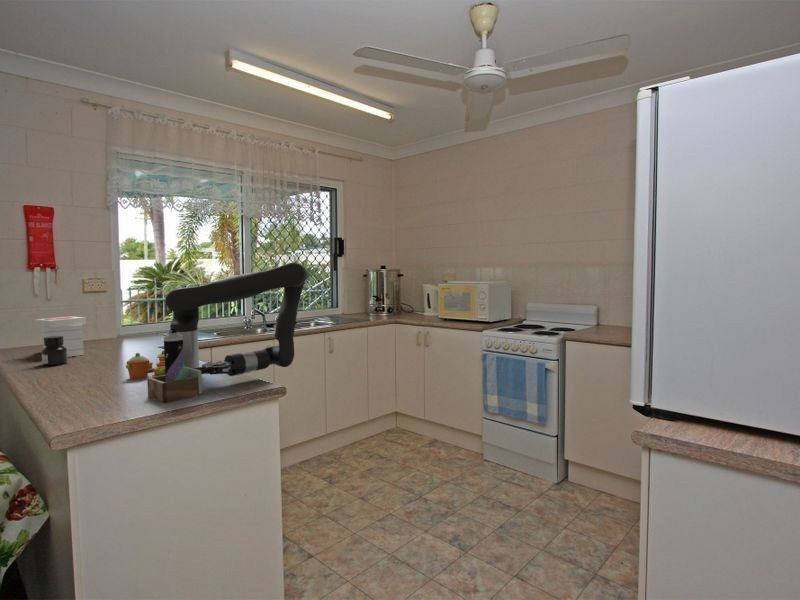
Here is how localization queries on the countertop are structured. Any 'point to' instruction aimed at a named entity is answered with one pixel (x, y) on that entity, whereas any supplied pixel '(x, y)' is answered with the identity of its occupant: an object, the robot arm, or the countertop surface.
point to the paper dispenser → (64, 332)
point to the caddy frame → (171, 388)
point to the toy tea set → (145, 366)
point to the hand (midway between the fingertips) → (192, 372)
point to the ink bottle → (54, 351)
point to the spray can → (174, 356)
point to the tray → (194, 373)
